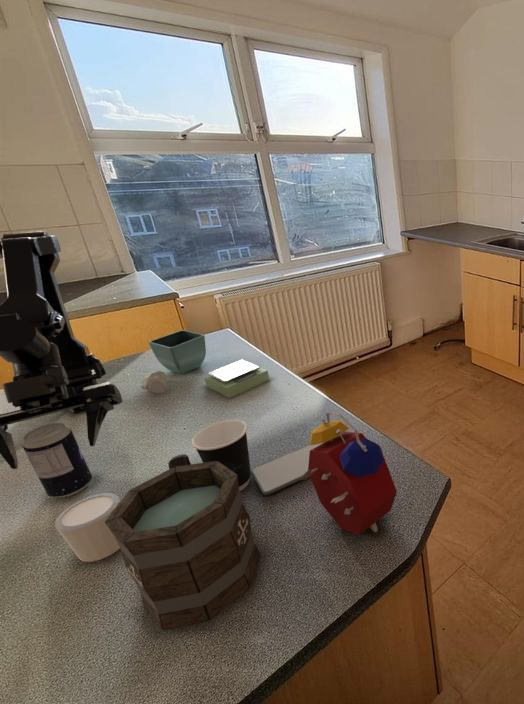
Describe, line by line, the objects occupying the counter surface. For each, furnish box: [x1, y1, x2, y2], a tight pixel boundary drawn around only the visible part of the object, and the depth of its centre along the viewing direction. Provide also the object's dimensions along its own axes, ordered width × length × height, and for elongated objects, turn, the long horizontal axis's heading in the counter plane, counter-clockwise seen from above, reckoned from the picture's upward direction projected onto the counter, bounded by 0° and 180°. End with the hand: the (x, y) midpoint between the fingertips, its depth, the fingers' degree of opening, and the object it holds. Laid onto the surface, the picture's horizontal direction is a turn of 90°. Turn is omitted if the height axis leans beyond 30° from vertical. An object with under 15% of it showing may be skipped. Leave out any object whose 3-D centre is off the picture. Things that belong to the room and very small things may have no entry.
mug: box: [105, 453, 261, 631], centre depth 59 cm, size 20×14×15 cm
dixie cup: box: [191, 419, 252, 492], centre depth 74 cm, size 8×8×11 cm
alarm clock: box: [301, 410, 398, 536], centre depth 66 cm, size 15×9×20 cm, turn 53°
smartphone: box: [250, 443, 323, 496], centre depth 81 cm, size 8×1×15 cm
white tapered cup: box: [54, 492, 121, 563], centre depth 63 cm, size 7×7×7 cm
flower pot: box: [147, 329, 207, 375], centre depth 112 cm, size 9×9×9 cm
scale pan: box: [207, 359, 261, 383], centre depth 107 cm, size 8×8×1 cm
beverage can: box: [22, 422, 93, 499], centre depth 72 cm, size 6×6×12 cm
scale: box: [203, 366, 270, 399], centre depth 107 cm, size 10×10×3 cm
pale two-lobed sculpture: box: [141, 370, 168, 394], centre depth 104 cm, size 4×8×5 cm
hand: (55, 456), depth 71 cm, fingers open, 9 cm apart
